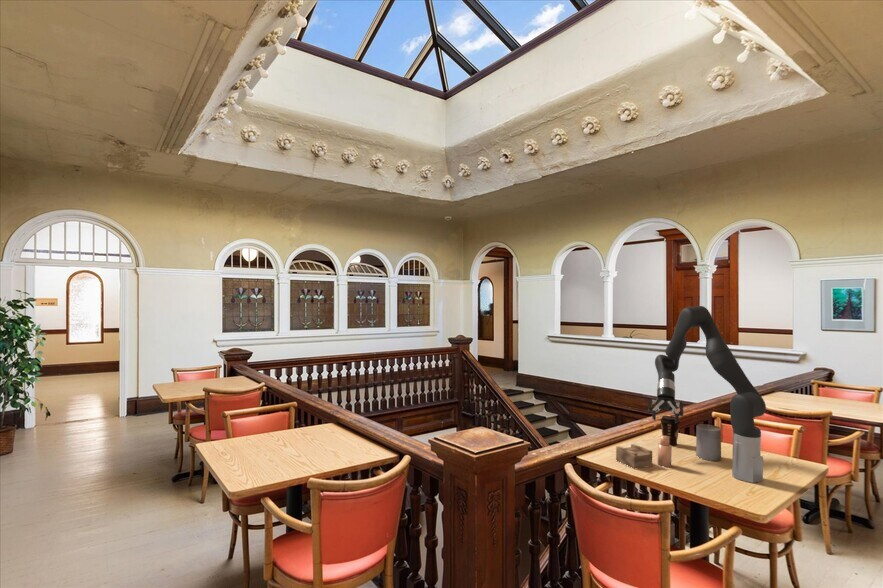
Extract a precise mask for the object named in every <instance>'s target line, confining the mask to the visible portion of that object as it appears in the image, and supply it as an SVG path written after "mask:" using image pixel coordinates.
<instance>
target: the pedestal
mask: <svg viewBox="0 0 883 588" xmlns="http://www.w3.org/2000/svg"><path fill="white" fill-rule="evenodd" d="M615 452H616V453H615V455H616V456H615V457H616V458H615V461H616V460H617V461H616V462H618V461H619V462H618V463H620V462H621V463H620V464H622V463H623V464H622V465H624V464H626V465H625V466H627V465H628V466H627V467H629V466H630V468H631V467H632V468H631V469H633V468H637V469H641V467H643V468H647V467H646V466H649V467H652V466H653V450H650V449H648V448H646V447H642V446H640V445H638V444H635V443H631V444H630V447H629V446H628V447H622V446H620V445H617V446H616V449H615Z"/></svg>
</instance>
